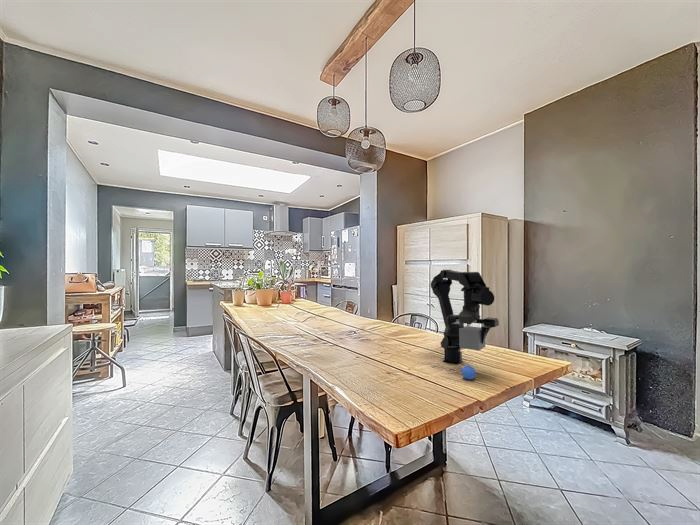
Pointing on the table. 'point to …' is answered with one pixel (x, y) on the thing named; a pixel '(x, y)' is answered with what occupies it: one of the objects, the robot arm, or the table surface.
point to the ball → (468, 372)
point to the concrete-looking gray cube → (471, 338)
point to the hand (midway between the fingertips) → (472, 342)
